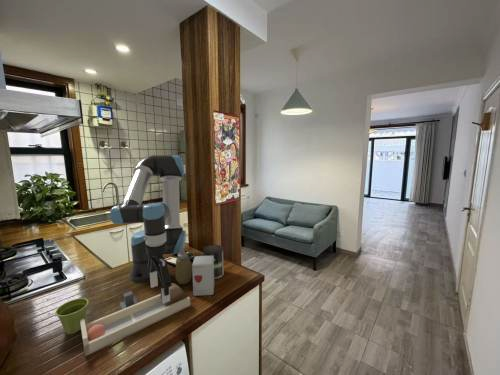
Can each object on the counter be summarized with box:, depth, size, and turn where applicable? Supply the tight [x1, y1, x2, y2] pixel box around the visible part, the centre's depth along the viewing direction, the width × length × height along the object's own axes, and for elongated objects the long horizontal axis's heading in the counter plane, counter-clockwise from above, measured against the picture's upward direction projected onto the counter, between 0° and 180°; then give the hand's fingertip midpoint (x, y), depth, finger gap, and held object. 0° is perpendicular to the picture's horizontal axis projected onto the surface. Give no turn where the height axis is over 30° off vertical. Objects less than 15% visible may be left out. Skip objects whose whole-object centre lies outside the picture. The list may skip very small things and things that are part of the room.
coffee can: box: [202, 244, 225, 280], centre depth 116 cm, size 10×10×14 cm
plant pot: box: [54, 297, 90, 335], centre depth 81 cm, size 9×9×9 cm
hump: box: [160, 282, 186, 306], centre depth 93 cm, size 6×8×8 cm
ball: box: [87, 324, 105, 341], centre depth 75 cm, size 5×5×5 cm
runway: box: [80, 293, 191, 357], centre depth 85 cm, size 11×36×6 cm, turn 131°
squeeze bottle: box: [174, 246, 193, 285], centre depth 109 cm, size 8×8×18 cm
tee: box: [119, 290, 139, 310], centre depth 93 cm, size 6×6×5 cm
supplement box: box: [191, 255, 215, 297], centre depth 103 cm, size 9×9×15 cm
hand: (160, 293), depth 89 cm, fingers open, 13 cm apart
